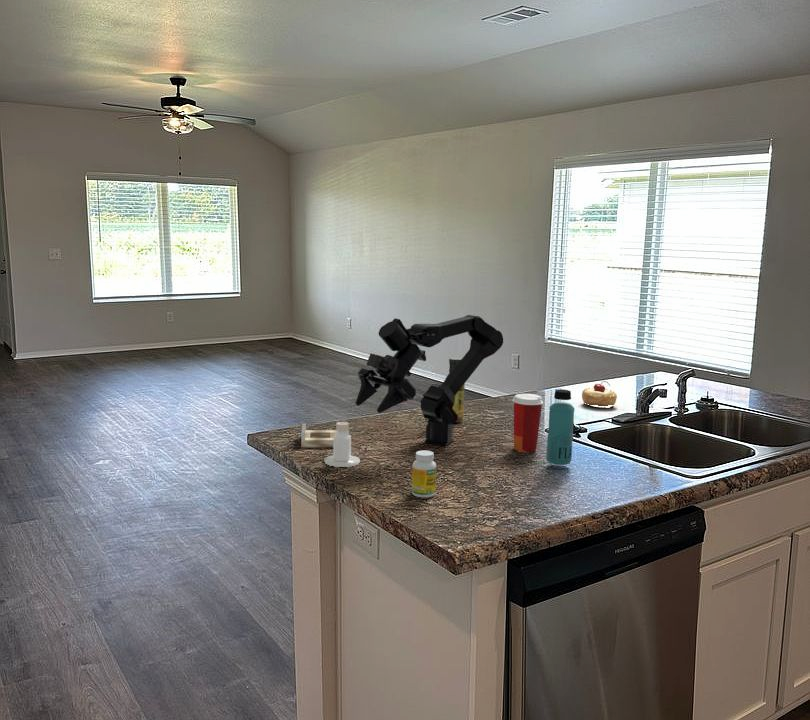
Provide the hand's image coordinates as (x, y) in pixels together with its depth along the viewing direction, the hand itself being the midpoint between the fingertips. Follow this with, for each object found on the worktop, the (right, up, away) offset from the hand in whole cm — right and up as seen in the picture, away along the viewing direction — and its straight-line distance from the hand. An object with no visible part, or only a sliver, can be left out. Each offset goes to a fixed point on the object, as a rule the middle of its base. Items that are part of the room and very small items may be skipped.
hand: (367, 408), depth 188 cm
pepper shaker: (-6, -13, -3) cm, 15 cm away
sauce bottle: (+25, -7, +42) cm, 49 cm away
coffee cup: (+43, -12, +13) cm, 46 cm away
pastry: (+78, -4, +70) cm, 104 cm away
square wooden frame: (-14, -10, +15) cm, 22 cm away
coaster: (-6, -13, -2) cm, 15 cm away
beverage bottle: (+49, -15, -1) cm, 51 cm away
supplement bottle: (+14, -18, -23) cm, 32 cm away
